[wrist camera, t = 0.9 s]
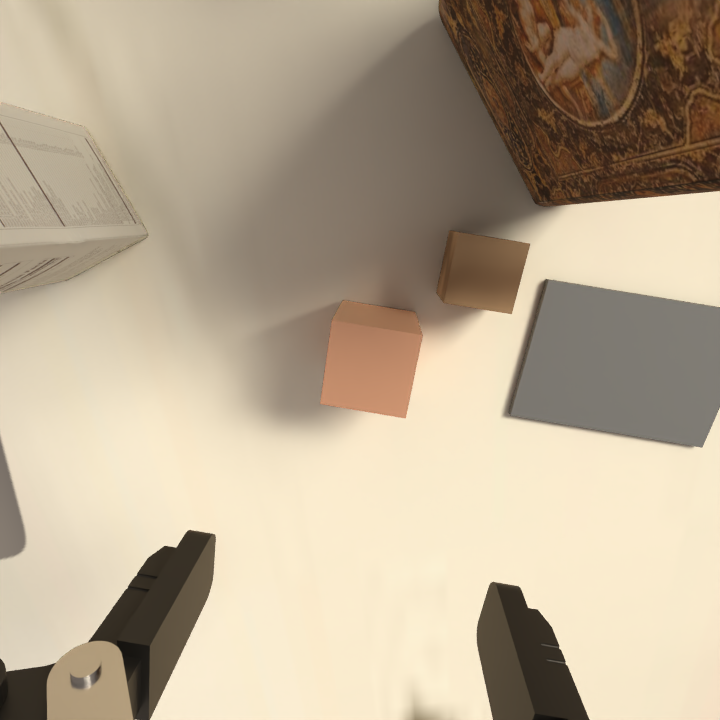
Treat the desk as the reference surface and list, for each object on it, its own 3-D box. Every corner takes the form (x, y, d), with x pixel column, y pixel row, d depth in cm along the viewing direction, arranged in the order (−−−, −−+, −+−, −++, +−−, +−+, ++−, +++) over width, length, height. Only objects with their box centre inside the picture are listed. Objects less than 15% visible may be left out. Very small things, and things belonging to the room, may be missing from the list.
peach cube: (342, 300, 38) (331, 320, 30) (415, 311, 38) (422, 335, 30) (333, 368, 40) (320, 404, 32) (402, 380, 39) (405, 418, 32)
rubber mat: (546, 279, 36) (548, 279, 36) (754, 313, 36) (760, 314, 35) (508, 412, 40) (510, 415, 39) (697, 444, 40) (702, 447, 39)
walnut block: (449, 230, 36) (458, 232, 31) (510, 240, 36) (530, 243, 31) (436, 292, 37) (443, 302, 32) (495, 301, 37) (511, 314, 32)
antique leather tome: (609, 175, 34) (1147, 67, 10) (542, 217, 35) (880, 210, 11) (506, -43, 30) (964, -1049, 6) (435, 11, 31) (595, -664, 7)
